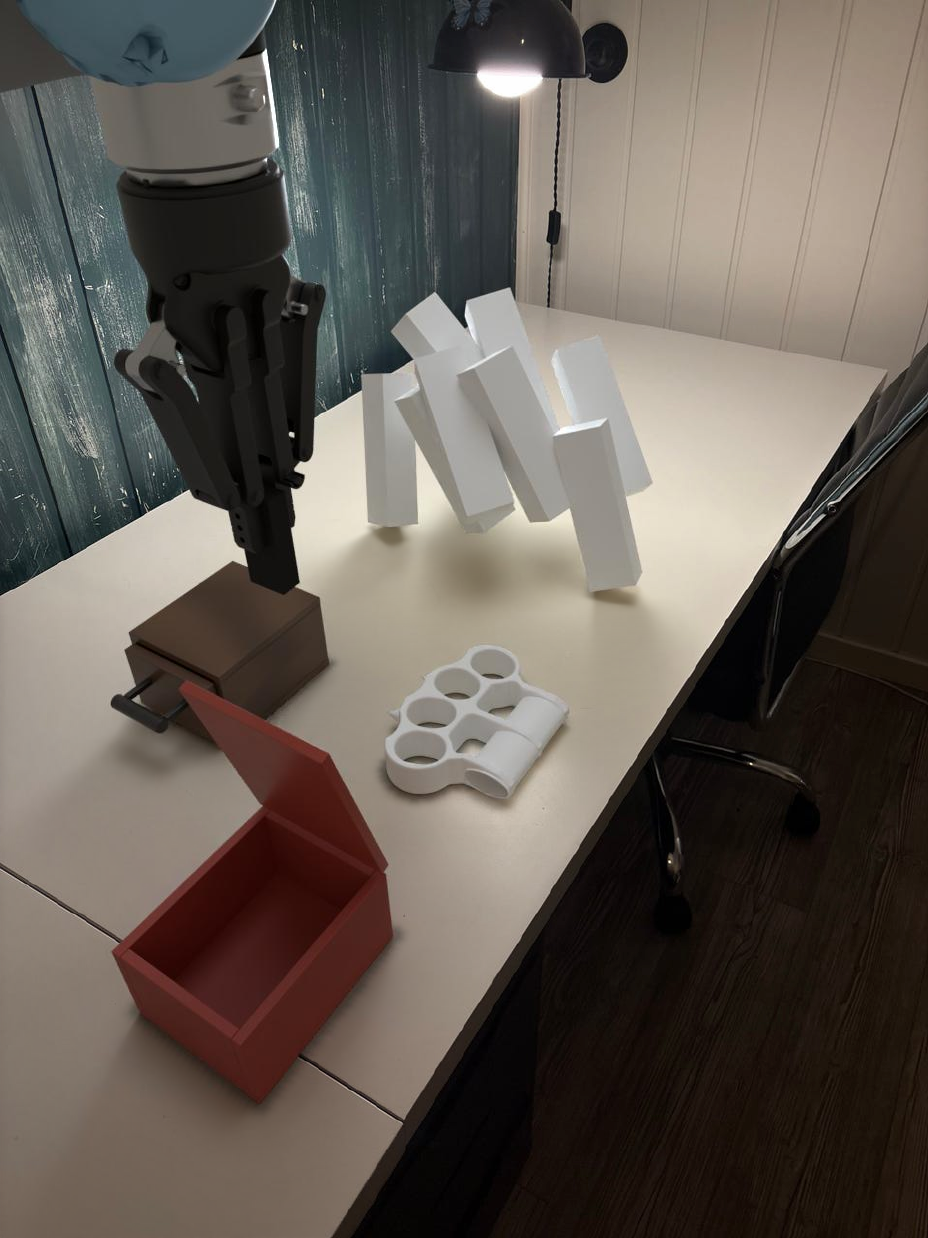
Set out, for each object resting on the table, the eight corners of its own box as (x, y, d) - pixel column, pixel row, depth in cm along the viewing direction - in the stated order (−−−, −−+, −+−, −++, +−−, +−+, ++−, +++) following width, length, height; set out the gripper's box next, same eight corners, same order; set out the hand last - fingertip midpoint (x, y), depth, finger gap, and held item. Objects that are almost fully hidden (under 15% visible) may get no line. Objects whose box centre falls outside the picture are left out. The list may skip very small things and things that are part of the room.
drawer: (184, 775, 81) (167, 720, 77) (106, 729, 86) (86, 675, 81) (308, 668, 92) (300, 615, 88) (233, 633, 96) (221, 581, 92)
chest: (260, 1104, 60) (240, 1046, 55) (139, 1012, 65) (110, 951, 60) (393, 936, 69) (386, 873, 64) (278, 867, 74) (264, 804, 69)
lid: (320, 763, 52) (329, 752, 52) (177, 689, 57) (186, 679, 57) (382, 874, 64) (389, 864, 64) (259, 804, 69) (266, 796, 69)
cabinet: (235, 746, 85) (218, 677, 80) (149, 699, 90) (127, 632, 85) (329, 663, 94) (320, 596, 88) (246, 625, 99) (232, 560, 93)
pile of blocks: (679, 549, 118) (643, 266, 111) (649, 602, 91) (599, 231, 84) (430, 578, 130) (384, 325, 123) (337, 633, 103) (271, 311, 96)
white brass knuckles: (490, 833, 77) (349, 766, 83) (583, 703, 89) (454, 653, 95) (490, 806, 75) (346, 740, 81) (585, 678, 86) (454, 628, 93)
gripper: (146, 210, 36) (247, 663, 50) (352, 143, 44) (387, 548, 59) (23, 186, 39) (152, 619, 54) (237, 128, 47) (297, 516, 62)
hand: (275, 581), depth 56 cm, fingers closed
